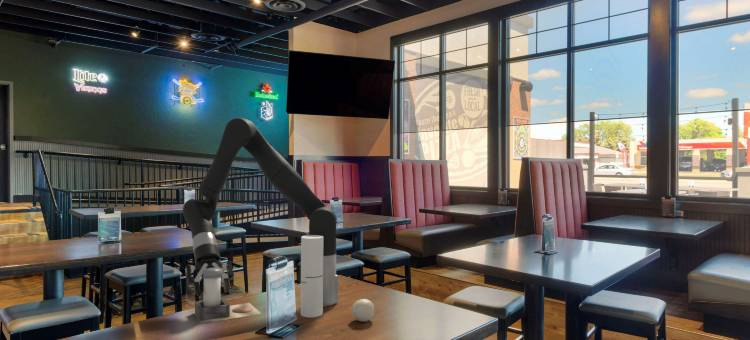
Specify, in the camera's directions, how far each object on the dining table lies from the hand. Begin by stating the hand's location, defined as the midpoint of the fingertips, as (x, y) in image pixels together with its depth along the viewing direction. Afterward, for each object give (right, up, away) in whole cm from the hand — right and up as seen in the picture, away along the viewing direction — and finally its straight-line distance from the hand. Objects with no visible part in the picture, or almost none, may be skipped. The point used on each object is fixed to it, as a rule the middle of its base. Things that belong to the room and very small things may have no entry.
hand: (213, 293), depth 141 cm
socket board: (+3, -9, +4) cm, 10 cm away
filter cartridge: (-1, -7, +1) cm, 7 cm away
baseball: (+46, -9, +2) cm, 47 cm away
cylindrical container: (+29, -9, +8) cm, 31 cm away
